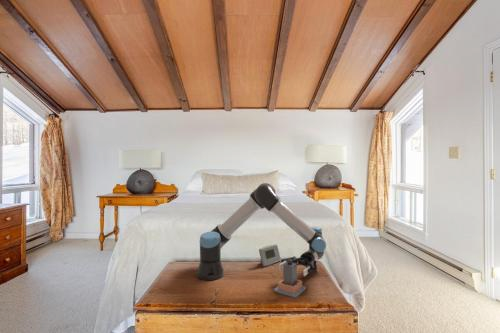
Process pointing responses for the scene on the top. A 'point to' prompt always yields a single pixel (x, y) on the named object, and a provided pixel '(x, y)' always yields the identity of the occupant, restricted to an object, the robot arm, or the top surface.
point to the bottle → (290, 273)
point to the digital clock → (269, 255)
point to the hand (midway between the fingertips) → (291, 270)
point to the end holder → (290, 288)
